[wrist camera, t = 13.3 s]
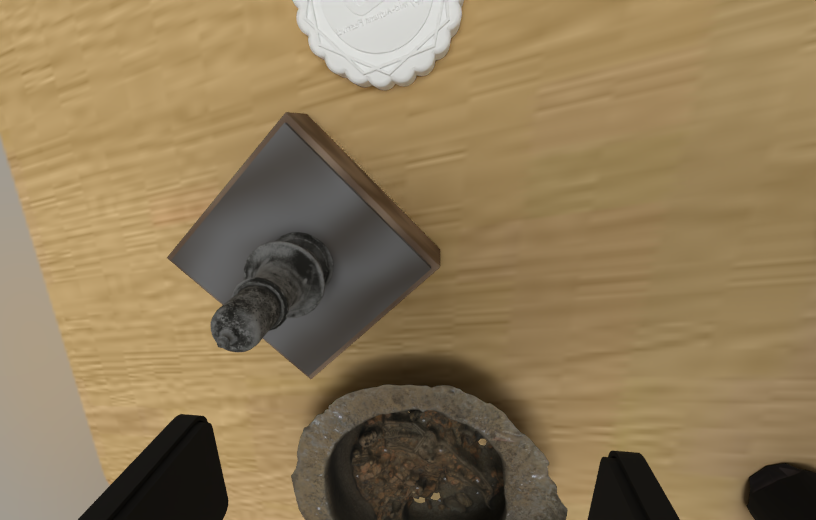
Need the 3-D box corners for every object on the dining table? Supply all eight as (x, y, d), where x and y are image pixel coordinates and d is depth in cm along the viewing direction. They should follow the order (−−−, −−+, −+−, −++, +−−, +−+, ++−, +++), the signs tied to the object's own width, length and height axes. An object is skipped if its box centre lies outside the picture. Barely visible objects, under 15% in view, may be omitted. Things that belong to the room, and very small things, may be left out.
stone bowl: (475, 553, 47) (476, 650, 38) (292, 465, 47) (251, 541, 38) (590, 411, 38) (625, 493, 29) (365, 303, 38) (334, 354, 29)
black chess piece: (259, 285, 31) (157, 376, 20) (271, 218, 29) (164, 277, 18) (328, 306, 31) (266, 408, 20) (344, 241, 29) (285, 312, 18)
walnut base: (440, 249, 34) (440, 269, 29) (324, 351, 39) (309, 382, 34) (306, 113, 31) (283, 112, 26) (199, 242, 36) (162, 259, 31)
